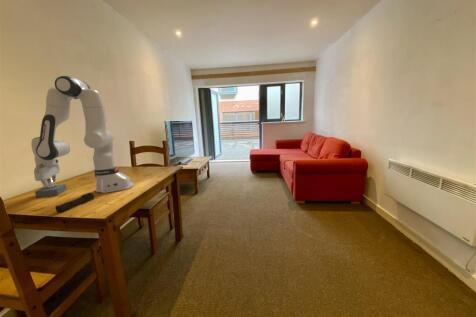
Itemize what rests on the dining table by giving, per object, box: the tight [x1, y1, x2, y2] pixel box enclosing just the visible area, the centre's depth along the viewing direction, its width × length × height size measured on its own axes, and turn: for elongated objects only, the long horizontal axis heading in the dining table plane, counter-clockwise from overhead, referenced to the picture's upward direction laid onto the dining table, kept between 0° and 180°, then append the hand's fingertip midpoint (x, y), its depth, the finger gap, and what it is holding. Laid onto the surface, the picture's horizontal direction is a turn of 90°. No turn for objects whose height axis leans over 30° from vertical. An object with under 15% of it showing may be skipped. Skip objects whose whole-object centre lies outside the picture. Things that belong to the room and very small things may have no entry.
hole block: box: [34, 183, 67, 199], centre depth 131 cm, size 11×11×4 cm
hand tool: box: [55, 192, 95, 213], centre depth 110 cm, size 19×4×5 cm, turn 161°
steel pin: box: [46, 177, 55, 189], centre depth 130 cm, size 3×3×10 cm
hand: (50, 183), depth 130 cm, fingers open, 8 cm apart
